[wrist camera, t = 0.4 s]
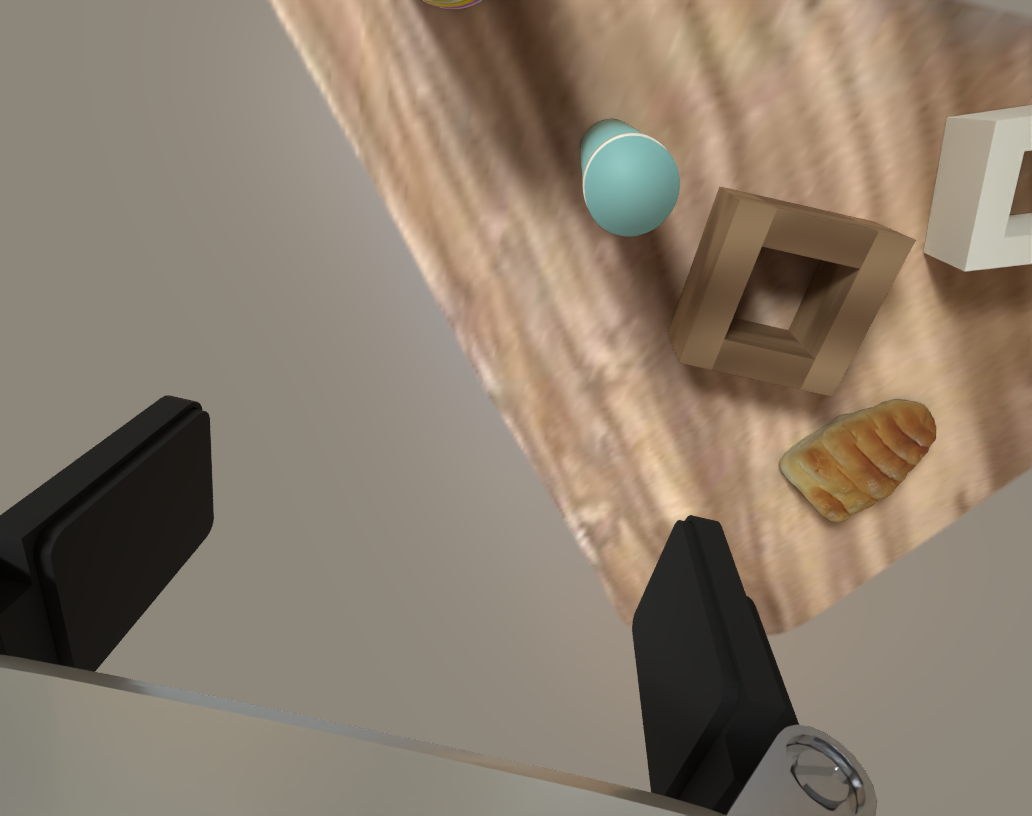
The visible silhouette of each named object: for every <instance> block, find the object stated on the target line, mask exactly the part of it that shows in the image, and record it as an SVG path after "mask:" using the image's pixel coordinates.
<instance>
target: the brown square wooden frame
mask: <svg viewBox="0 0 1032 816" xmlns="http://www.w3.org/2000/svg"><path fill="white" fill-rule="evenodd" d="M915 241H916V240H915V239H912V238H910V237H908V236H906V235H903V234H901V233H899V232H896V231H894V230H892V229H889V228H887V227H885V226H883V225H880V224H878V223H876V222H872V221H868V220H864V219H859V218H855V217H851V216H846V215H842V214H837V213H833V212H829V211H824V210H820V209H816V208H811V207H807V206H802V205H798V204H794V203H789V202H785V201H781V200H776V199H772V198H768V197H763V196H759V195H754V194H750V193H746V192H741V191H737V190H733V189H728V188H724V187H719V190H718V193H717V196H716V198H715V201H714V204H713V207H712V210H711V212H710V215H709V218H708V221H707V224H706V227H705V229H704V232H703V235H702V238H701V241H700V244H699V246H698V249H697V252H696V255H695V258H694V261H693V263H692V266H691V269H690V272H689V275H688V278H687V280H686V283H685V286H684V289H683V292H682V295H681V297H680V300H679V303H678V306H677V309H676V312H675V314H674V317H673V320H672V323H671V326H670V329H669V331H668V336H669V338H670V341H671V343H672V346H673V348H674V351H675V354H676V356H677V359H678V361H679V363H682V364H687V365H691V366H696V367H700V368H705V369H709V370H714V371H718V372H723V373H727V374H732V375H737V376H741V377H746V378H750V379H755V380H759V381H764V382H768V383H773V384H777V385H782V386H786V387H791V388H795V389H800V390H804V391H809V392H813V393H818V394H822V395H827V396H832V397H833V395H834V393H835V391H836V389H837V387H838V385H839V383H840V382H841V380H842V378H843V376H844V374H845V372H846V370H847V368H848V367H849V365H850V363H851V361H852V359H853V357H854V355H855V353H856V351H857V350H858V348H859V346H860V344H861V342H862V340H863V338H864V336H865V335H866V333H867V331H868V329H869V327H870V325H871V323H872V321H873V320H874V318H875V316H876V314H877V312H878V310H879V308H880V306H881V305H882V303H883V301H884V299H885V297H886V295H887V293H888V291H889V290H890V288H891V286H892V284H893V282H894V280H895V278H896V276H897V275H898V273H899V271H900V269H901V267H902V265H903V263H904V261H905V260H906V258H907V256H908V254H909V252H910V250H911V248H912V246H913V245H914V243H915ZM761 247H766V248H771V249H775V250H780V251H784V252H789V253H793V254H797V255H802V256H806V257H811V258H815V259H819V260H821V261H820V263H819V266H818V268H817V270H816V272H815V274H814V276H813V279H812V281H811V283H810V285H809V287H808V289H807V292H806V294H805V296H804V298H803V300H802V302H801V305H800V307H799V309H798V311H797V313H796V315H795V318H794V320H793V322H792V324H791V326H790V328H789V330H784V329H780V328H776V327H771V326H767V325H762V324H758V323H753V322H749V321H744V320H740V319H735V318H733V316H734V314H735V311H736V309H737V306H738V304H739V302H740V299H741V297H742V294H743V292H744V289H745V287H746V284H747V282H748V279H749V277H750V274H751V272H752V270H753V267H754V265H755V262H756V260H757V257H758V255H759V252H760V250H761Z"/></svg>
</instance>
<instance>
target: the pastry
mask: <svg viewBox="0 0 1032 816" xmlns="http://www.w3.org/2000/svg"><path fill="white" fill-rule="evenodd" d="M935 439H936V425H935V421H934V418H933V417H932V415H931V413H930V412H929V410H928V409H927V407H926V406H925V405H923V404H921V403H918V402H912V401H908V400H901V399H894V400H890V401H885V402H882V403H880V404H878V405H877V406H874V407H871V408H868V409H863V410H860V411H858V412H854V413H849V414H844V415H841V416H838V417H836V418H835V419H834V421H833V422H832V423H830V424H828V425H825V426H824V427H822V428H821V429H819V430H818V431H816V432H814V433H812V434H810V435H808V436H807V437H805V438H804V439H803V440H801V441H800V442H798V443H797V444H796V445H794V446H793V447H792V448H790V450H788V451H787V452H786V453H785V454H784V455H783V457H782V458H781V459H780V461H779V468H780V470H781V471H782V472H783V474H784V475H785V476H786V478H787V479H788V480H789V481H790V482H791V483H792V484H793V485H794V486H796V487H797V488H798V490H800V491H801V492H802V493H803V495H804V496H805V497H806V499H807V500H808V501H809V502H810V503H811V504H812V505H813V507H814V508H815V509H816V510H817V511H818V512H819V513H820V514H821V515H822V516H824V517H826V518H827V519H829V520H830V521H833V522H841V521H845V520H847V518H848V517H849V516H850V515H852V514H854V513H857V512H860V511H862V510H864V509H866V508H868V507H870V506H872V505H873V504H874V503H875V502H876V501H878V500H880V499H883V498H886V497H888V496H889V495H891V494H892V493H893V492H894V489H895V488H896V487H897V486H898V485H899V484H900V483H901V482H902V481H903V480H904V479H905V477H906V476H907V473H908V472H910V471H911V470H912V469H913V468H914V467H915V466H916V465H917V464H918V463H919V461H920V460H921V458H922V457H923V456H924V455H925V454H926V453H927V452H928V450H929V447H930V445H931V444H932V443H933V442H934V441H935Z"/></svg>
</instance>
